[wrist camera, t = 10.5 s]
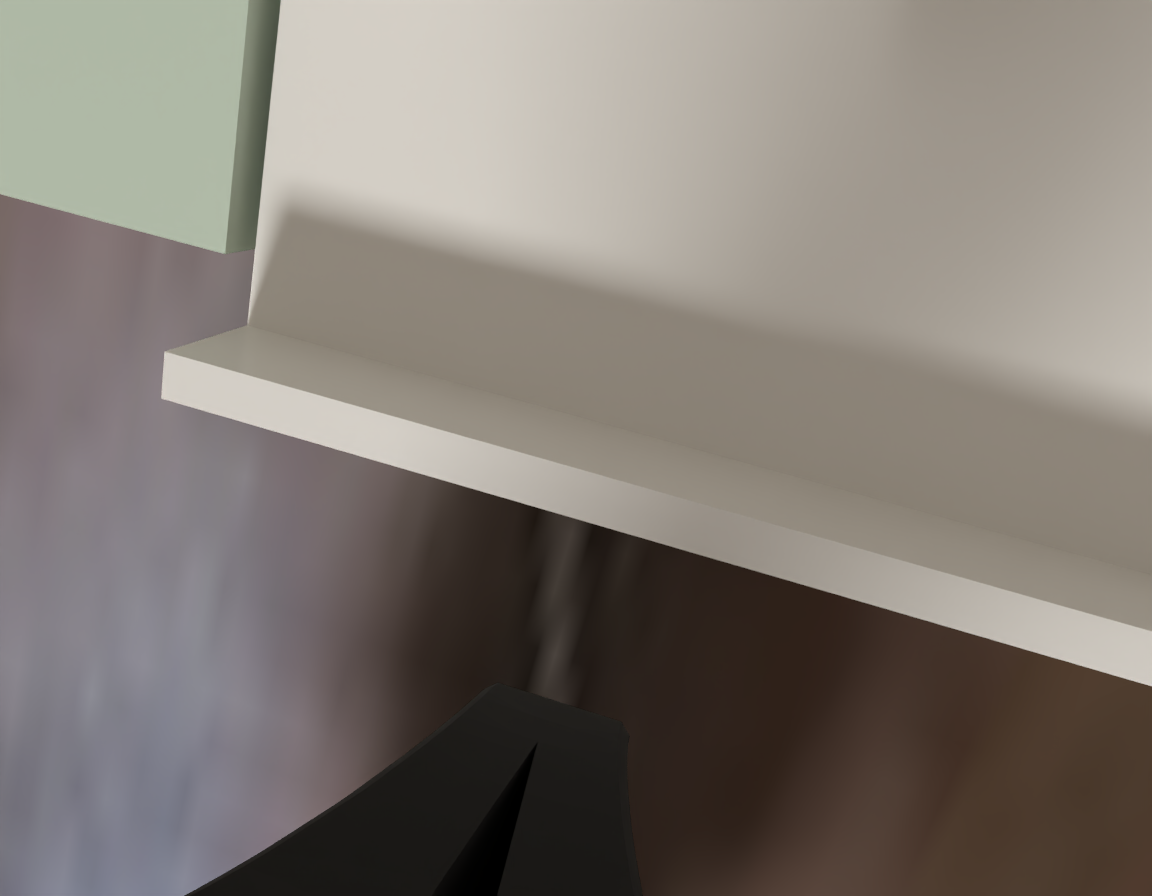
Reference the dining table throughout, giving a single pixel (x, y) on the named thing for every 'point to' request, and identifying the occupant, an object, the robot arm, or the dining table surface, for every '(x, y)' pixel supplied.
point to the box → (734, 285)
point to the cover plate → (140, 112)
